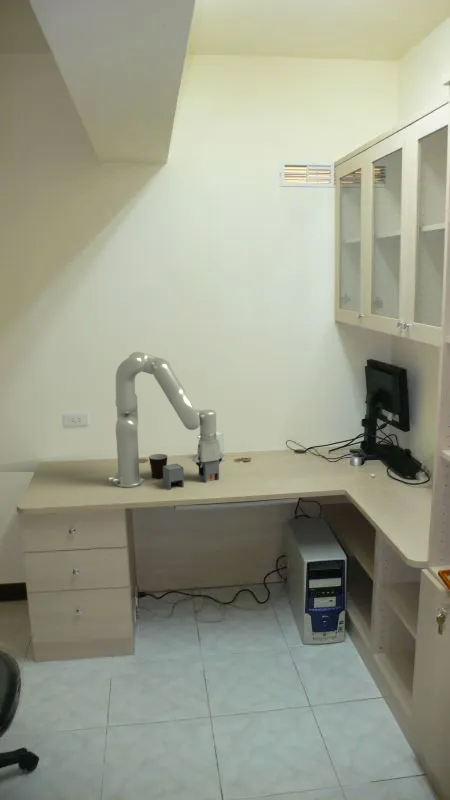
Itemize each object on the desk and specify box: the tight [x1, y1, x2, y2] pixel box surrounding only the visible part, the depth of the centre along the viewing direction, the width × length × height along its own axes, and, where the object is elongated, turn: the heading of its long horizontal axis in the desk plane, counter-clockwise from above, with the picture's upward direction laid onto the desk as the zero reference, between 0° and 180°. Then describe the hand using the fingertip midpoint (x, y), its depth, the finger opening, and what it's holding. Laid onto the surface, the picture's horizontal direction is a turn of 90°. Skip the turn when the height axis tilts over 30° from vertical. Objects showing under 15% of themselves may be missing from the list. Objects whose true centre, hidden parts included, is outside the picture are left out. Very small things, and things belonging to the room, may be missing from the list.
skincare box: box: [216, 430, 226, 462], centre depth 298 cm, size 8×6×15 cm
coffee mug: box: [148, 453, 168, 480], centre depth 275 cm, size 12×9×10 cm
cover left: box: [162, 463, 185, 491], centre depth 262 cm, size 7×7×9 cm
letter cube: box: [207, 474, 216, 482], centre depth 271 cm, size 4×4×4 cm
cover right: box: [198, 460, 220, 483], centre depth 270 cm, size 7×7×9 cm
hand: (208, 473), depth 271 cm, fingers closed on cover right, 7 cm apart
